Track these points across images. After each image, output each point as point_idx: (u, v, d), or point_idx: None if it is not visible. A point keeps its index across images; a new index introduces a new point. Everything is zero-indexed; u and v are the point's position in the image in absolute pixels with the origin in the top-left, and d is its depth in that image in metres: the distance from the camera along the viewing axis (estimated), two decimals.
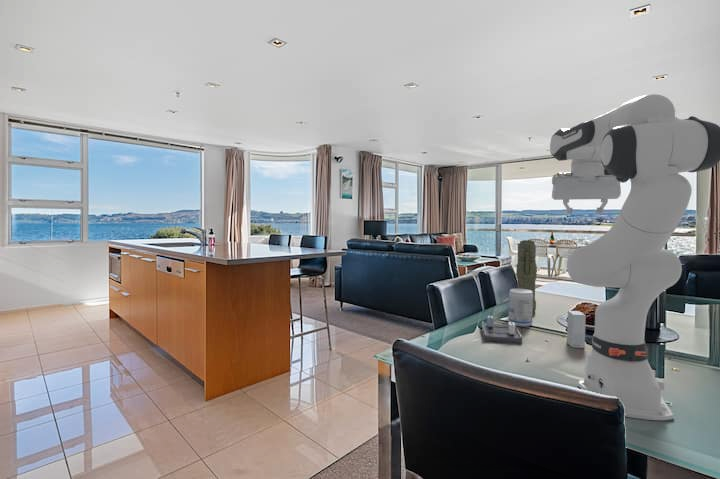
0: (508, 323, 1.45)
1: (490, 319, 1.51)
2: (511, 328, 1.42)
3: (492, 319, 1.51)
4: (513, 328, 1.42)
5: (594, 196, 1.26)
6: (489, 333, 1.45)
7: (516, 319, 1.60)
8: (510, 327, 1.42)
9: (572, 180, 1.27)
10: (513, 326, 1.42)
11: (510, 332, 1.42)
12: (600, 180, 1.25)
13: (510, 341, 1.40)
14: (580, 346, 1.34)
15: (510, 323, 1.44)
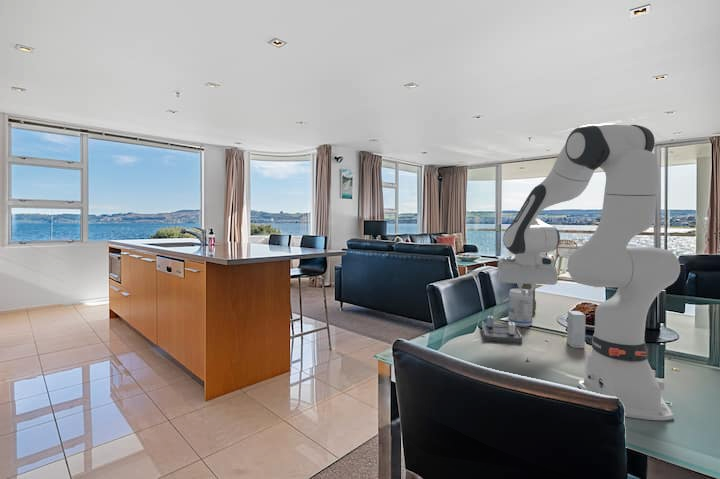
0: (508, 323, 1.45)
1: (490, 319, 1.51)
2: (511, 328, 1.42)
3: (492, 319, 1.51)
4: (513, 328, 1.42)
5: (534, 282, 1.39)
6: (489, 333, 1.45)
7: (516, 319, 1.60)
8: (510, 327, 1.42)
9: (515, 266, 1.40)
10: (513, 326, 1.42)
11: (510, 332, 1.42)
12: (539, 268, 1.38)
13: (510, 341, 1.40)
14: (580, 346, 1.34)
15: (510, 323, 1.44)
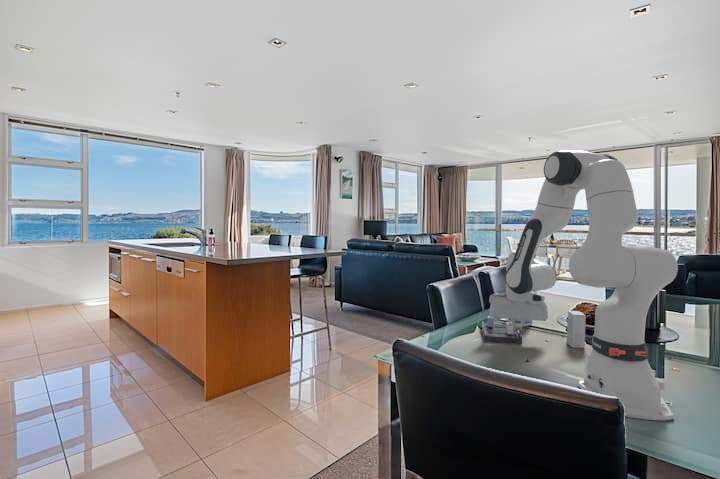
0: (506, 323, 1.45)
1: (490, 319, 1.51)
2: (509, 328, 1.42)
3: (492, 319, 1.51)
4: (511, 328, 1.42)
5: (525, 317, 1.41)
6: (489, 333, 1.45)
7: (516, 319, 1.60)
8: (508, 327, 1.42)
9: (506, 302, 1.42)
10: (511, 326, 1.42)
11: (508, 332, 1.43)
12: (530, 304, 1.40)
13: (510, 341, 1.40)
14: (580, 346, 1.34)
15: (508, 323, 1.44)
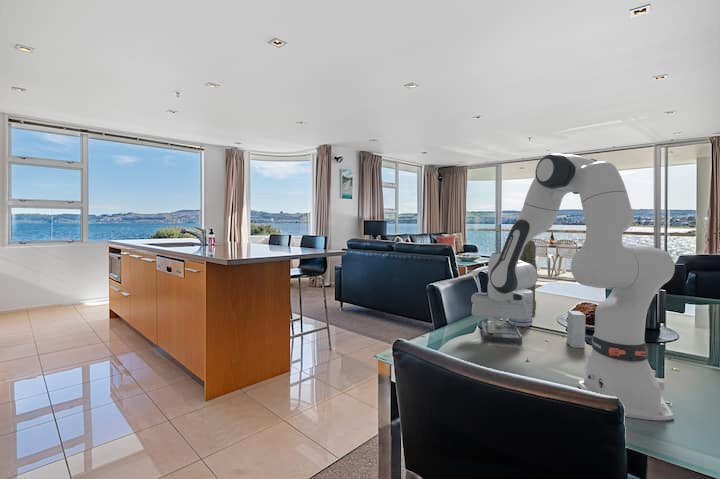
0: (488, 322, 1.47)
1: (490, 319, 1.51)
2: (490, 327, 1.44)
3: None
4: (492, 327, 1.44)
5: (506, 316, 1.43)
6: (489, 333, 1.45)
7: (516, 319, 1.60)
8: (489, 326, 1.44)
9: (487, 301, 1.44)
10: (492, 325, 1.44)
11: (489, 331, 1.44)
12: (510, 303, 1.41)
13: (510, 341, 1.40)
14: (580, 346, 1.34)
15: (489, 322, 1.46)
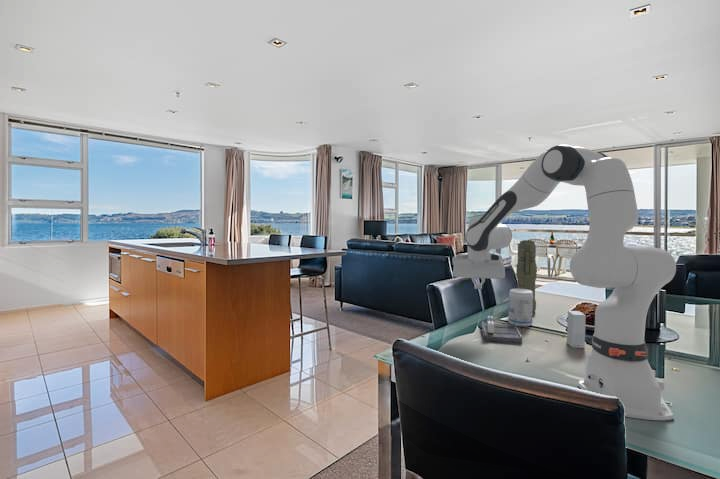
0: None
1: (490, 319, 1.51)
2: (490, 327, 1.44)
3: (492, 319, 1.51)
4: (492, 327, 1.44)
5: (484, 276, 1.51)
6: (489, 333, 1.45)
7: (516, 319, 1.60)
8: (489, 326, 1.44)
9: (467, 262, 1.52)
10: (492, 325, 1.44)
11: (489, 331, 1.44)
12: (488, 263, 1.50)
13: (510, 341, 1.40)
14: (580, 346, 1.34)
15: (489, 322, 1.46)
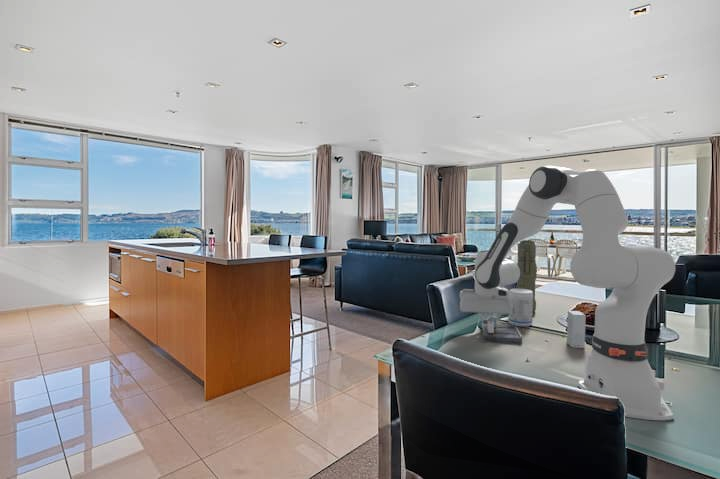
0: None
1: (493, 319, 1.51)
2: (490, 327, 1.44)
3: (495, 319, 1.51)
4: (492, 327, 1.44)
5: (492, 311, 1.51)
6: (489, 333, 1.45)
7: (516, 319, 1.60)
8: (489, 326, 1.44)
9: (474, 297, 1.52)
10: (492, 325, 1.44)
11: (489, 331, 1.44)
12: (496, 299, 1.50)
13: (510, 341, 1.40)
14: (580, 346, 1.34)
15: (489, 322, 1.46)
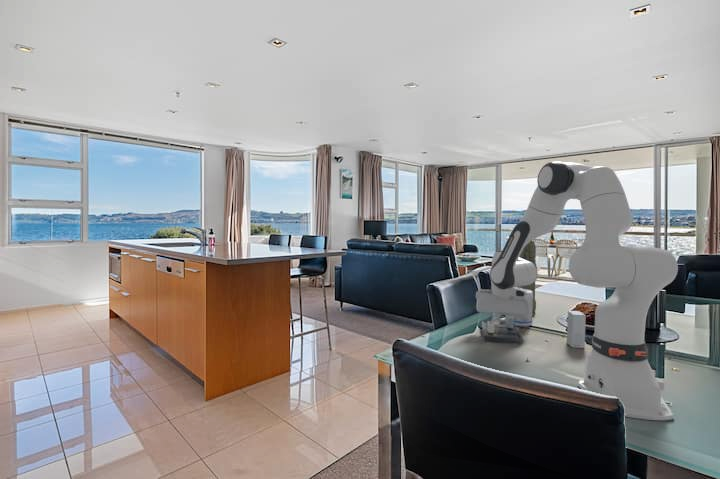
0: None
1: (510, 320, 1.50)
2: (490, 327, 1.44)
3: (512, 320, 1.49)
4: (492, 327, 1.44)
5: (509, 312, 1.50)
6: (489, 333, 1.45)
7: (516, 319, 1.60)
8: (489, 326, 1.44)
9: (491, 297, 1.51)
10: (492, 325, 1.44)
11: (489, 331, 1.44)
12: (513, 299, 1.49)
13: (510, 341, 1.40)
14: (580, 346, 1.34)
15: (489, 322, 1.46)
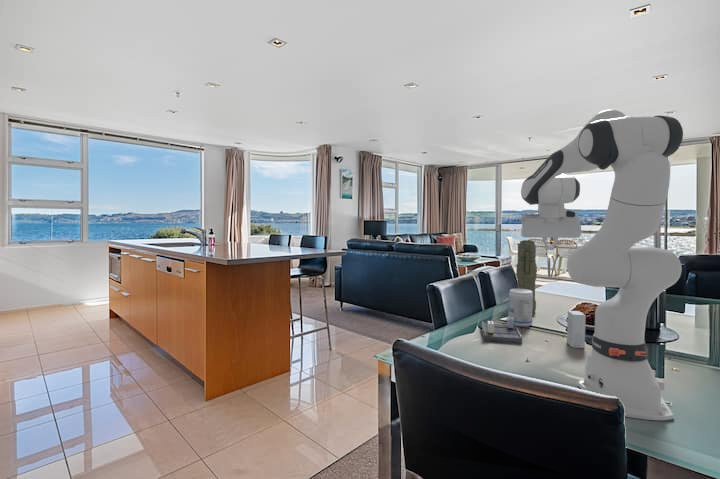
0: None
1: (510, 320, 1.50)
2: (490, 327, 1.44)
3: (512, 320, 1.49)
4: (492, 327, 1.44)
5: (558, 235, 1.40)
6: (489, 333, 1.45)
7: (516, 319, 1.60)
8: (489, 326, 1.44)
9: (538, 220, 1.41)
10: (492, 325, 1.44)
11: (489, 331, 1.44)
12: (563, 221, 1.39)
13: (510, 341, 1.40)
14: (580, 346, 1.34)
15: (489, 322, 1.46)
